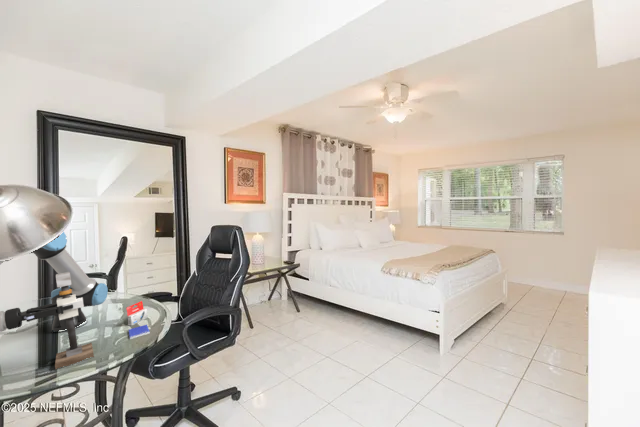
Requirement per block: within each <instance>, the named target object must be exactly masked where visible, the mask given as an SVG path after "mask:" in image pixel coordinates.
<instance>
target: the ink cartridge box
mask: <svg viewBox="0 0 640 427" xmlns="http://www.w3.org/2000/svg"><path fill="white" fill-rule="evenodd" d="M135 306H136V307H135ZM125 309H126V314H127V324H128V326H134V325H136V324H138V323H140V322H141V321H144V320H146V319H148V318H149V316H148V309H147V308H144V304H143V300H141V301H139V302H136V303H134V304H131V305H129V306H127V307H126V308H125ZM147 317H148V318H147Z"/></svg>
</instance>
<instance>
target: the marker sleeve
mask: <svg viewBox="0 0 640 427" xmlns="http://www.w3.org/2000/svg"><path fill="white" fill-rule="evenodd" d="M72 302H77V301H76V294H74V295H70V297H69V298H64V299H63V298H62V297H61V298H57V307H58V306H63V305H64V304H68V303H72ZM74 316H78V308H76V309H72V310H68V311H63V314H61V313H60V314H59V320H62V319H66V318H70V317H74Z"/></svg>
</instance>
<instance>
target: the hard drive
mask: <svg viewBox="0 0 640 427" xmlns="http://www.w3.org/2000/svg"><path fill="white" fill-rule="evenodd" d="M150 332H151V331H150V330H149V327H148V325H147V324H144V325H140V326H136V327H132V328H129V329H128V336H129V340H132V339H136V338H140V337H141V336H145V335H148V334H150Z"/></svg>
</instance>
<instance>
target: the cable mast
mask: <svg viewBox="0 0 640 427" xmlns="http://www.w3.org/2000/svg"><path fill="white" fill-rule="evenodd" d="M55 280H56V281H55V282H56V287H57V288H56V289H58V288H61V291H59V295H62V298H63V299H64V298H69V297H70V293H72V289H69V286H68V285H71V277H70V272H67V273H61V274H58V273H57V274H55ZM66 324H67V331H66V332H67V337H68V343H69V344H68V345H69V347H68V348H66V349H65V350H64V351H61V352H57V353H55V355H56V356H55V363H54V368H55V370H56V369H57V368H60V367H63V366H66V367H69V366H71V364H72V365H74V364H78V363H80V361H81V362H83V361H82V360H84V359H86V358H90V357H93V358H95V355H94V348H93V343H92V342H90V343H89V342H88V343H87V344H78V341H77V333H76V329H75V326H74V319H73V317H70V318H66ZM90 359H91V358H90ZM84 361H85V360H84ZM77 362H78V363H77ZM63 368H64V367H63ZM60 369H61V368H60ZM57 370H58V369H57Z"/></svg>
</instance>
